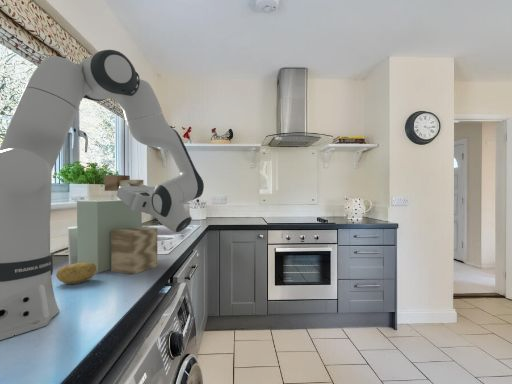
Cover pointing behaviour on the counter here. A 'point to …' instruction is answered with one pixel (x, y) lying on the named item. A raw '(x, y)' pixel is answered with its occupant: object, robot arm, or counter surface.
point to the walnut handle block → (119, 182)
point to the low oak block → (133, 249)
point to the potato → (76, 272)
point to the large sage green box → (101, 229)
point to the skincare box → (72, 244)
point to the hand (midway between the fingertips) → (131, 184)
